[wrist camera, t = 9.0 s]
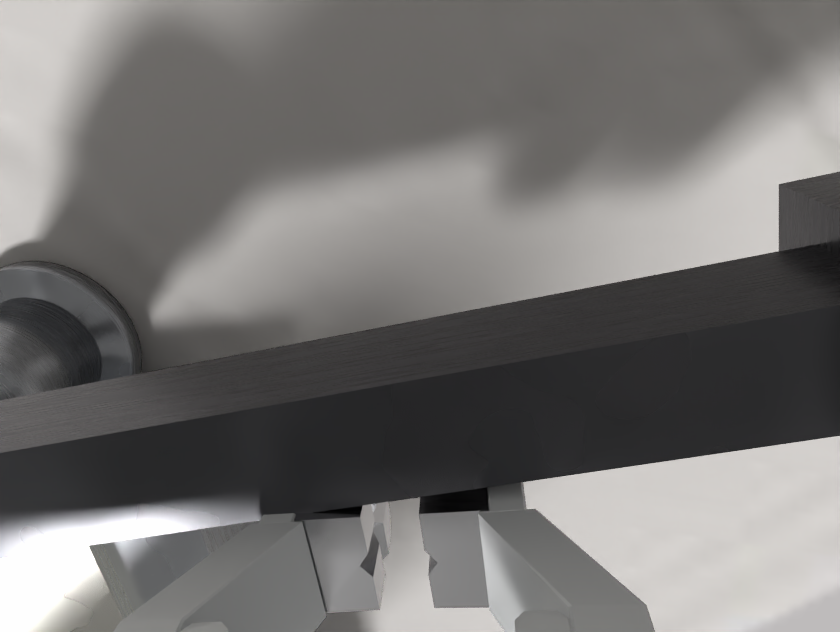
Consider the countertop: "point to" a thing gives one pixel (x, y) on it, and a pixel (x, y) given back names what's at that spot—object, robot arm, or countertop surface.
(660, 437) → the bar
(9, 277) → the grey round knob
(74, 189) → the countertop surface
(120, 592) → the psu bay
